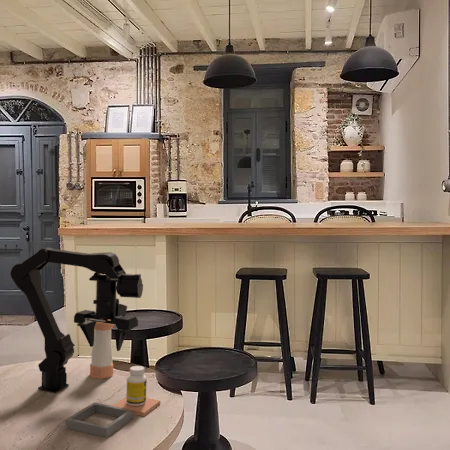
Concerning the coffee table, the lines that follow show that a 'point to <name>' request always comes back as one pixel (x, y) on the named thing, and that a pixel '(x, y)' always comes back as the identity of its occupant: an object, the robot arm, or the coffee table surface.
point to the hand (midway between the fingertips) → (105, 348)
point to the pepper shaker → (102, 351)
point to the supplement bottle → (136, 386)
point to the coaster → (141, 409)
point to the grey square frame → (95, 429)
